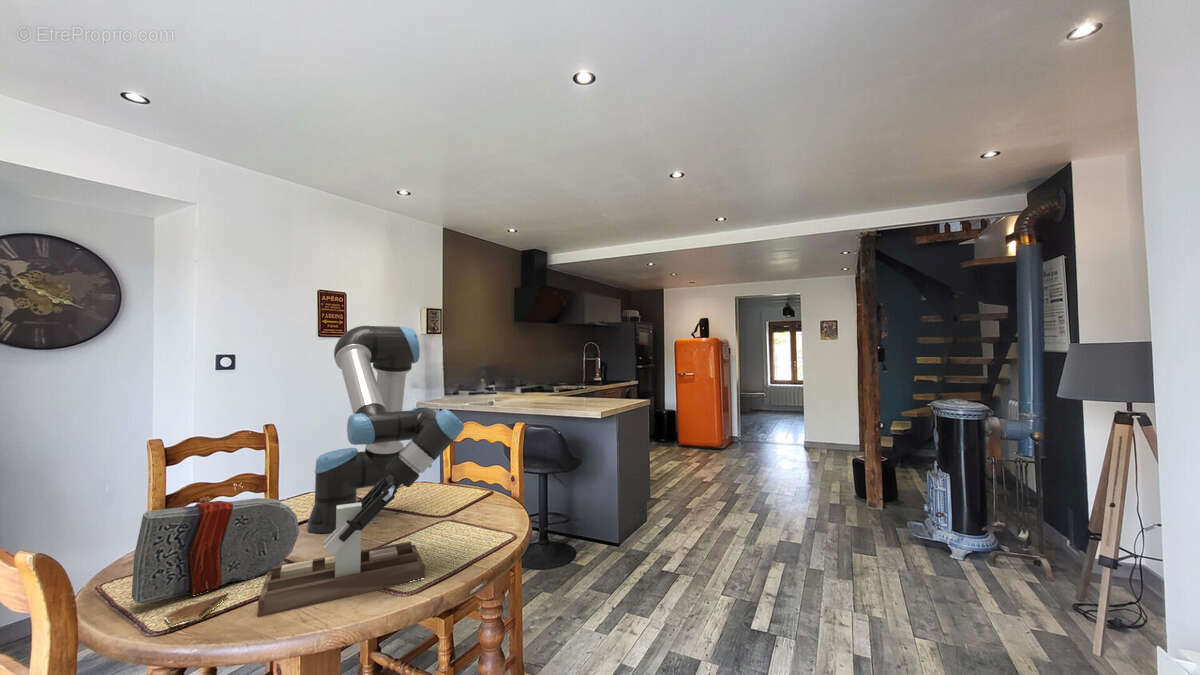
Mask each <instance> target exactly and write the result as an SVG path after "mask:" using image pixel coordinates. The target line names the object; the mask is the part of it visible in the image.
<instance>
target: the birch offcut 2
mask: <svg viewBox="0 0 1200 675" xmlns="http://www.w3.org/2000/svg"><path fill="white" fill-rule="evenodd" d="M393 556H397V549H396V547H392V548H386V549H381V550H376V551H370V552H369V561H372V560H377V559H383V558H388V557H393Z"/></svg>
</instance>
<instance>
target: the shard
mask: <svg viewBox="0 0 1200 675" xmlns="http://www.w3.org/2000/svg"><path fill="white" fill-rule="evenodd" d="M229 595H230V592H227V593H225V594H220V595H219V596H216V597H215V596H214V597H212V598H209V599H205V600H201V601H198V602H196V603H192V604H190V605H187V606H184V607H180V608H176V609H175V610H173V611H169V612H167V613H166V614H164V615H163V618H164V617H166V618H167V619H168V621H169V622H170V625H171V626H173V625H176V624H179V623H182V622H186V621H191V620H199V619H202V618H203V617H204V616H205V615H206V614H207V613H209V612H210V611H211V610H212V609H213V608H214V607H216V606H217V605H218V604H220V603H221V602H222V600H224V599H225V598H226V597H227V598H228V596H229ZM227 598H226V599H227ZM211 612H212V611H211ZM211 612H210V613H211ZM210 613H209V614H210ZM207 615H208V614H207ZM207 615H206V616H207ZM206 616H205V617H206ZM205 617H204V618H205ZM204 618H203V619H204ZM203 619H202V620H203Z"/></svg>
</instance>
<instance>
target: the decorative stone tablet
mask: <svg viewBox="0 0 1200 675" xmlns="http://www.w3.org/2000/svg"><path fill="white" fill-rule="evenodd" d="M299 534H300V527H299V522H298V516H297V514H296V513H295V512H294V510H293V509H292V508H291V507H290V506H289V505H287V504H285V503H283V502H281V501H280V500H277V499H275V498H260V497H254V498H247V499H240V500H231V501H225V500H216V501H214V500H213V501H206V502H197V503H196V504H195V505H192V506H190V505H189V506H183V507H181V506H180V507H173V508H163V509H156V510H148V511H146V512H144V513H143V514H142V520H141V524H140V528H139V533H138V536H137V541H136V547H135V551H134V555H133V569H132V584H131V585H132V586H131V597H130V598H132V600H133V602H134V603H135V604H140V605H144V604H148V603H151V602H157V601H161V600H164V599H165V600H166V599H170V598H174V597H178V596H183V595H187V594H188V595H189V596H190V597H191V596H193V595H197V594H200V593H204V592H207V591H210V590H213V591H215V590H214V589H216V590H217V589H219V588H220V587H222V586H223V585H226V584H228V583H231V582H233V583H234V582H240V581H241V582H242V580H243V581H247V579H248V580H251V578H252V579H254V578H256V577H259V576H261V575H263V574H267V572H270V571H272V568H273V566H279V565H281V563H283V561H284V560H285V559H286V558H287V557H288V556H289V555H290V554H291V553H292V552H293V550H294V547H295V545H296V542H297V541H298V540H297V539H298V537H299ZM253 577H254V578H253ZM210 592H211V591H210ZM207 593H208V592H207ZM204 594H205V593H204Z"/></svg>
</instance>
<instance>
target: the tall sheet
mask: <svg viewBox="0 0 1200 675" xmlns="http://www.w3.org/2000/svg"><path fill="white" fill-rule="evenodd" d="M361 510H362V504H361V502H360V501H359V502H358V503H351V504H344V505H337V506H336V534H337V533H338V532H339V531H340V530H341V529H342V528H343V527H344V526H345V525H346V524H347V523H346V521H347V520H349V521H352V519H353V518H354V517H355V516H356V515H357V514H358V513H359V512H360V511H361ZM361 550H362V530H361V531H360V530H358V531H356V532H355V533H354V535H353V536H352V537H351V538H350V539H349V540H348V541H347V542H346V543H345V544H344V545H343V546H342V547H341V548H340V549H339V550H338V551H337V552H336V553H335V554H334V555H335V578H337V577H342V576H347V575H351V574H356V573H360V566H361Z"/></svg>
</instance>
